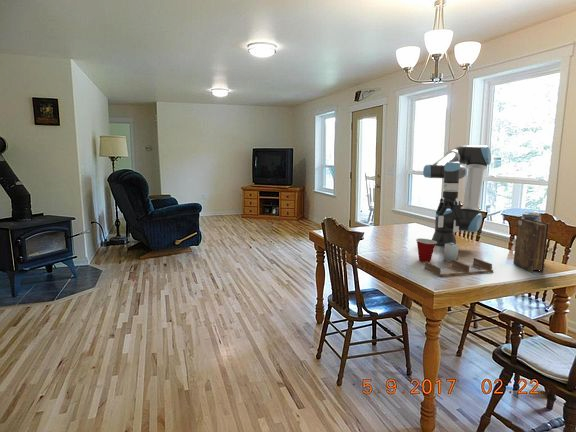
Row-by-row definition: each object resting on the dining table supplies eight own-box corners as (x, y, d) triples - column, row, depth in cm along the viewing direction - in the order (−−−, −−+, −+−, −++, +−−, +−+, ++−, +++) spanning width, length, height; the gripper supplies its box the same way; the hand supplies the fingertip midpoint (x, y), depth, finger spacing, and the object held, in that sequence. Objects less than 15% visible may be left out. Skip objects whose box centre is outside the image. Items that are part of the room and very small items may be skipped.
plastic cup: (438, 264, 199) (439, 242, 197) (417, 263, 201) (418, 242, 199) (432, 259, 210) (434, 238, 208) (413, 258, 211) (414, 237, 209)
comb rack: (474, 264, 199) (475, 257, 198) (493, 272, 186) (493, 264, 185) (424, 269, 192) (424, 261, 191) (440, 277, 179) (440, 269, 179)
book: (511, 263, 202) (516, 217, 198) (525, 263, 202) (530, 217, 197) (530, 272, 185) (535, 223, 181) (544, 272, 185) (550, 223, 181)
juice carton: (516, 259, 209) (521, 211, 204) (519, 255, 217) (524, 209, 212) (535, 262, 203) (540, 213, 199) (537, 258, 211) (542, 210, 207)
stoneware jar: (451, 258, 211) (453, 241, 209) (460, 262, 204) (461, 244, 203) (441, 259, 209) (442, 241, 208) (449, 262, 203) (450, 244, 201)
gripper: (430, 188, 213) (428, 225, 216) (459, 193, 188) (456, 234, 192) (442, 188, 214) (440, 225, 218) (472, 192, 190) (469, 233, 193)
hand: (447, 229), depth 205 cm, fingers open, 13 cm apart
